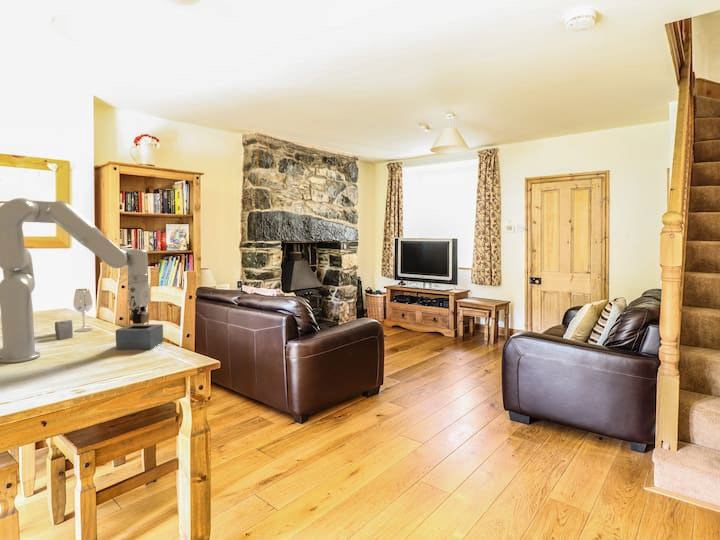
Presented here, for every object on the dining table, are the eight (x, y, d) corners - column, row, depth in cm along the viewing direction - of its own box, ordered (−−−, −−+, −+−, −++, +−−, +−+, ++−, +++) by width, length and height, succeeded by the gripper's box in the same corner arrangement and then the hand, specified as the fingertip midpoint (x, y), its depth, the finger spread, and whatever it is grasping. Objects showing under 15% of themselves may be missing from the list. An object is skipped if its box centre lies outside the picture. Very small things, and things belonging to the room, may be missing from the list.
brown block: (129, 319, 187) (131, 310, 187) (133, 318, 191) (135, 309, 191) (143, 323, 187) (145, 314, 187) (147, 321, 191) (149, 312, 191)
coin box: (116, 349, 184) (115, 330, 183) (130, 342, 196) (130, 324, 195) (150, 349, 184) (150, 330, 183) (163, 342, 196) (162, 324, 195)
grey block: (79, 334, 208) (75, 318, 205) (62, 342, 200) (58, 326, 197) (66, 332, 209) (62, 316, 207) (49, 340, 201) (45, 324, 199)
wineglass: (78, 332, 214) (76, 290, 213) (71, 330, 219) (70, 289, 217) (96, 329, 220) (94, 289, 219) (89, 327, 225) (87, 288, 223)
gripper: (137, 281, 179) (139, 326, 181) (156, 277, 196) (157, 318, 197) (118, 281, 179) (120, 326, 181) (138, 276, 196) (140, 318, 197)
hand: (139, 322), depth 189 cm, fingers closed on brown block, 3 cm apart
